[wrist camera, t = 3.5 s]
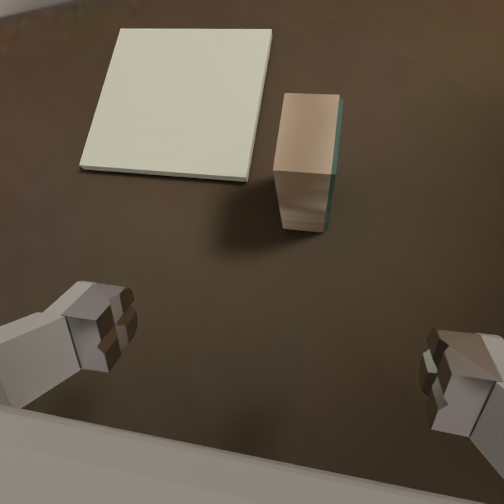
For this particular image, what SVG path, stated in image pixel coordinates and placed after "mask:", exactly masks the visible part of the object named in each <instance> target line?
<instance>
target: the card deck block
mask: <svg viewBox="0 0 504 504" xmlns="http://www.w3.org/2000/svg"><path fill="white" fill-rule="evenodd" d="M342 109H343V99H339V95H326V94H297V93H285V94H284V101H283V108H282V114H281V121H280V127H279V134H278V140H277V147H276V154H275V160H274V167H273V173H274V179H275V185H276V191H277V197H278V203H279V208H280V214H281V220H282V226H283V229H292V230H303V231H313V232H323V230H327V226H328V220H329V214H330V207H331V201H332V195H333V189H334V182H335V176H336V167H337V158H338V148H339V138H340V128H341V119H342Z"/></svg>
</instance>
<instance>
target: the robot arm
mask: <svg viewBox="0 0 504 504" xmlns="http://www.w3.org/2000/svg"><path fill="white" fill-rule="evenodd" d="M133 301H134V297H133V292H132V290H131V289H130V288H128V287H122V286H116V285H109V284H103V283H95V282H88V281H79V282H77V283H75V284H74V285H73V286H72V287H71V288H70V289H69V290H68V291H66V292H65V293H64V294H63V295H62V296H61V297H60V298H59V299H57V300H56V301H55V302H54V303H53V304H52V305H51V306H50V307H48V308H47V309H46V310H45V311H44V312H43V313H38V312H37V313H34V314H32V315H29V316H26V317H24V318H21V319H19V320H16V321H13V322H11V323H8V324H5V325H3V326H0V504H486V503H481V502H476V501H471V500H466V499H461V498H457V497H452V496H447V495H442V494H437V493H432V492H427V491H422V490H417V489H413V488H408V487H403V486H398V485H393V484H388V483H383V482H378V481H373V480H368V479H364V478H359V477H354V476H349V475H344V474H339V473H334V472H329V471H324V470H319V469H315V468H310V467H305V466H300V465H295V464H290V463H285V462H280V461H275V460H270V459H265V458H261V457H256V456H251V455H246V454H241V453H236V452H231V451H226V450H221V449H216V448H212V447H207V446H202V445H197V444H192V443H187V442H182V441H177V440H172V439H167V438H162V437H158V436H153V435H148V434H143V433H138V432H133V431H128V430H123V429H118V428H113V427H109V426H104V425H99V424H94V423H89V422H84V421H79V420H74V419H69V418H64V417H59V416H55V415H50V414H45V413H40V412H35V411H30V410H25V409H21V408H22V407H24V406H26V405H27V404H29V403H30V402H32V401H33V400H35V399H36V398H38V397H39V396H41V395H42V394H44V393H46V392H47V391H49V390H50V389H52V388H53V387H55V386H56V385H58V384H59V383H61V382H63V381H64V380H66V379H67V378H69V377H70V376H72V375H73V374H75V373H76V372H78V371H80V368H81V369H88V370H95V371H102V372H110V370H111V369H112V367H113V366H114V365H115V363H116V362H117V360H118V359H119V358H120V356H121V351H120V348H122V347H124V346H126V345H128V344H129V343H130V342H131V340H132V339H133V337H134V335H135V332H136V329H137V320H138V319H137V313H136V311H135V310H134V309H133V308H132V307H131V304H132V302H133ZM427 342H428V345H429V350H427V351H426V352H424V353H423V355H422V359H421V362H420V371H419V377H420V385H421V389H422V391H423V392H424V393H425V394H426V395H427V396H428V399H427V402H426V405H425V406H426V410H427V414H428V418H429V422H430V426H431V430H436V431H441V432H446V433H451V434H456V435H461V436H466V437H470V440H471V441H472V442H473V443H474V445H475V446H476V447H477V448H478V449H479V451H480V452H481V453H482V454H483V455H484V456H485V458H486V459H487V460H488V461H489V462H490V464H491V465H492V466H493V467H494V468H495V470H496V471H497V472H498V473H499V474H500V476H501V477H502V478H503V479H504V339H503V338H502V337H500V336H499V335H491V334H482V333H476V334H475V333H468V332H460V331H452V330H444V329H437V328H432V330H431V331H430V333H429V336H428V339H427Z"/></svg>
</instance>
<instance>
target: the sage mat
mask: <svg viewBox="0 0 504 504" xmlns="http://www.w3.org/2000/svg"><path fill="white" fill-rule="evenodd" d="M271 41H272V29H120V33H119V36H118V39H117V42H116V46H115V49H114V52H113V56H112V59H111V62H110V66H109V69H108V72H107V75H106V79H105V82H104V85H103V89H102V92H101V95H100V98H99V102H98V105H97V108H96V112H95V115H94V118H93V121H92V125H91V128H90V131H89V135H88V138H87V141H86V144H85V148H84V151H83V154H82V158H81V161H80V164H79V165H80V166H81V167H82V168H83V169H87V170H100V171H113V172H126V173H139V174H152V175H165V176H178V177H191V178H204V179H217V180H230V181H243V182H248V176H249V170H250V164H251V158H252V152H253V147H254V141H255V135H256V129H257V123H258V117H259V111H260V105H261V100H262V94H263V88H264V82H265V76H266V70H267V64H268V59H269V53H270V47H271Z"/></svg>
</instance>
